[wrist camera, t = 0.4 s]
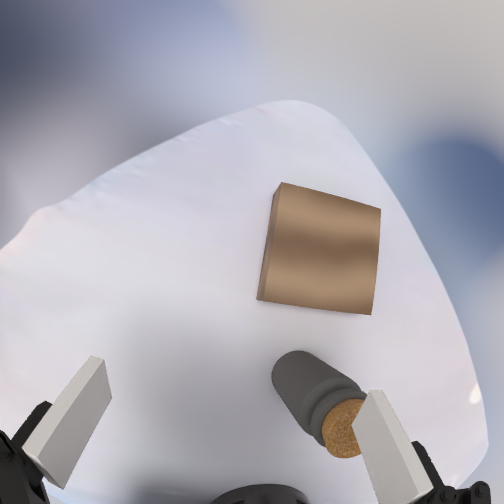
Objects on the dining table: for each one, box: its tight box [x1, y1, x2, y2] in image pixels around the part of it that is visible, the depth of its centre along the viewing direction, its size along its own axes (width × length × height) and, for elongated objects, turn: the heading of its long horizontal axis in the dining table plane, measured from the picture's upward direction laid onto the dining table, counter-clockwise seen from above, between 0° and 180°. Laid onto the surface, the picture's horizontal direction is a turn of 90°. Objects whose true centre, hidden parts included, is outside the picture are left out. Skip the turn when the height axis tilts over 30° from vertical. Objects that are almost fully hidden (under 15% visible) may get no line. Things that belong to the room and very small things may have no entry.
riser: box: [257, 182, 381, 315], centre depth 29 cm, size 12×12×4 cm
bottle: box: [272, 351, 367, 458], centre depth 22 cm, size 6×6×15 cm
